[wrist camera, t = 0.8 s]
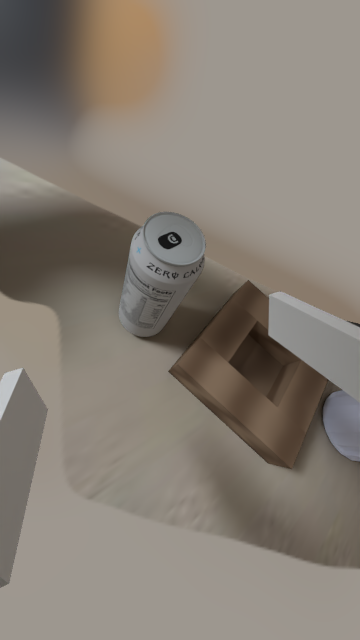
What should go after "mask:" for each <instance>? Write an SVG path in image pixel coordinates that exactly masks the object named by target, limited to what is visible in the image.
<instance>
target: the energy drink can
mask: <svg viewBox="0 0 360 640" xmlns="http://www.w3.org/2000/svg"><path fill="white" fill-rule="evenodd" d="M205 248H206V244H205V238H204V235H203V233H202V231H201V230H200V229H199V227H198V226H197V225H196V224H195V223H194V222H193V221H191V220H190V219H189V218H187V217H185V216H183V215H180V214H177V213H173V212H160V213H156V214H154V215H152V216H150V217H149V218H148V219H147V220H146V222H145V223H144V225H143V226H142V227H141V228H140V229H138V230H137V231H136V233H135V234H134V236H133V239H132V241H131V247H130V252H129V258H128V263H127V269H126V274H125V280H124V285H123V291H122V296H121V301H120V307H119V318H120V321H121V323H122V325H123V326H124V328H125V329H126V330H128V331H129V332H130V333H132V334H134V335H137V336H141V337H148V336H153V335H155V334H157V333H159V332H160V331H161V330H162V329H163V328H164V326H165V325H166V323H167V322H168V320H169V319H170V317H171V316H172V314H173V313H174V312H175V310H176V309H177V307H178V306H179V304H180V303H181V301H182V300H183V298H184V297H185V295H186V294H187V292H188V291H189V290H190V288H191V287H192V285H193V284H194V282H195V281H196V279H197V278H198V276H199V275H200V273H201V272H202V269H203V267H204V252H205Z"/></svg>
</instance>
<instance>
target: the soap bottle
mask: <svg viewBox="0 0 360 640" xmlns="http://www.w3.org/2000/svg"><path fill="white" fill-rule="evenodd" d="M323 422H324V426H325V431H326V433H327V435H328V437H329V439H330V441H331V443H332V444H333V446H334V447H335V448H336V449H337V450H338V451H339V452H340V453H341V454H342V455H344V456H345V457H347V458H349V459H350V460H353V461H359V462H360V403H359V402H358V401H357V400H355V399H354V398H353V397H351V396H350V395H349V394H347V393H346V392H345V391H343V390H340V391H336V392H333V393H332V394H331V395H330V396H329V397H328V398H327V399H326V401H325V404H324V406H323Z"/></svg>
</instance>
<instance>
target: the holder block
mask: <svg viewBox="0 0 360 640" xmlns="http://www.w3.org/2000/svg"><path fill="white" fill-rule="evenodd" d="M268 328H269V298H268V297H267V296H266V295H264V294H263V293H262V292H261V291H260V290H259V289H258V288H257V287H255V286H254V285H253V284H252V283H251V282H250V281H249V280H248V281H247V282H246V283H245V284H244V285H243V286H241V287H240V288H239V289H238V290H237V291H236V292H235V293H234V294H233V295H232V297H231V298H230V299H229V300H228V301H227V302H226V304H225V305H224V306H223V307H222V308H221V310H220V311H219V312H218V313H217V314H216V315H215V317H214V318H213V319H212V320H211V321H210V323H209V324H208V325H207V326H206V327H205V328H204V330H203V331H202V332H201V333H200V334H199V336H198V337H197V338H196V339H195V340H194V341H193V343H192V344H191V345H190V346H189V347H188V349H187V350H186V351H185V352H184V353H183V354H182V356H181V357H180V358H179V359H178V360H177V362H176V363H175V364H174V365H173V366H172V367H171V369H170V370H169V371H168V372H169V373H170V374H172V375H173V376H174V377H175V378H176V379H177V380H178V381H179V382H180V383H181V384H182V385H183V386H185V387H186V388H187V389H188V390H189V391H190V392H191V393H192V394H193V395H194V396H195V397H197V398H198V399H199V400H200V401H201V402H202V403H203V404H204V405H205V406H206V407H207V408H208V409H210V410H211V411H212V412H213V413H214V414H215V415H216V416H217V417H218V418H219V419H220V420H221V421H223V422H224V423H225V424H226V425H227V426H228V427H229V428H230V429H231V430H232V431H233V432H235V433H236V434H237V435H238V436H239V437H240V438H241V439H242V440H243V441H244V442H245V443H246V444H248V445H249V446H250V447H251V448H252V449H253V450H254V451H255V452H256V453H257V454H258V455H260V456H261V457H262V458H263V459H264V460H265V461H266V462H267V463H269V464H273V465H277V466H282V467H286V468H290V469H292V468H293V465H294V463H295V460H296V458H297V455H298V453H299V450H300V448H301V445H302V443H303V440H304V438H305V436H306V433H307V431H308V428H309V426H310V423H311V421H312V418H313V416H314V413H315V411H316V409H317V406H318V404H319V401H320V399H321V396H322V394H323V391H324V389H325V386H326V384H327V381H328V379H327V378H326V377H324V376H323V375H322V374H320V373H319V372H318V371H316V370H315V369H314V368H312V367H311V366H309V365H308V364H307V363H305V362H304V361H303V360H301V359H300V358H299V357H297V356H296V355H295V354H293V353H292V352H291V351H289V350H288V349H286V348H285V347H284V346H282V345H281V344H280V343H278V342H277V341H276V340H274V339H273V338H272V337H270V336H269V335H268Z"/></svg>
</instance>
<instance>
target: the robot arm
mask: <svg viewBox="0 0 360 640" xmlns="http://www.w3.org/2000/svg"><path fill="white" fill-rule="evenodd" d="M268 335H269V336H270V337H272V338H273V339H274V340H276V341H277V342H278V343H280V344H281V345H282V346H284V347H285V348H286V349H288V350H289V351H291V352H292V353H293V354H295V355H296V356H297V357H299V358H300V359H301V360H303V361H304V362H305V363H307V364H308V365H309V366H311V367H312V368H314V369H315V370H316V371H318V372H319V373H320V374H322V375H323V376H324V377H326V378H327V379H328V380H330V381H331V382H332V383H334V384H335V385H336V386H338V387H339V388H341V389H342V390H343V391H345V392H346V393H347V394H349V395H350V396H351V397H353V398H354V399H355V400H357V401H358V402H359V403H360V324H358V323H353V322H349V321H345V320H342V319H340V318H338V317H336V316H334V315H332V314H329V313H327V312H325V311H323V310H321V309H318V308H316V307H314V306H312V305H310V304H307V303H305V302H303V301H301V300H299V299H296V298H294V297H292V296H290V295H288V294H286V293H283V292H281V291H280V292H276V293H273V294H270V295H269V328H268ZM47 411H48V409H47V407H46V405H45V404H44V402H43V400H42V399H41V397H40V395H39V394H38V392H37V390H36V389H35V387H34V385H33V383H32V382H31V380H30V378H29V377H28V375H27V373H26V372H25V370H24V368H20V369H17V370H14V371H10V372H7V373H5V374H4V376H3V378H2V380H1V382H0V588H1V587H3V586H5V585H7V584H9V581H10V577H11V572H12V567H13V563H14V559H15V554H16V550H17V546H18V541H19V537H20V532H21V527H22V522H23V519H24V514H25V509H26V505H27V501H28V496H29V492H30V487H31V483H32V478H33V473H34V469H35V465H36V460H37V456H38V451H39V447H40V442H41V438H42V433H43V429H44V424H45V420H46V415H47Z"/></svg>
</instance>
